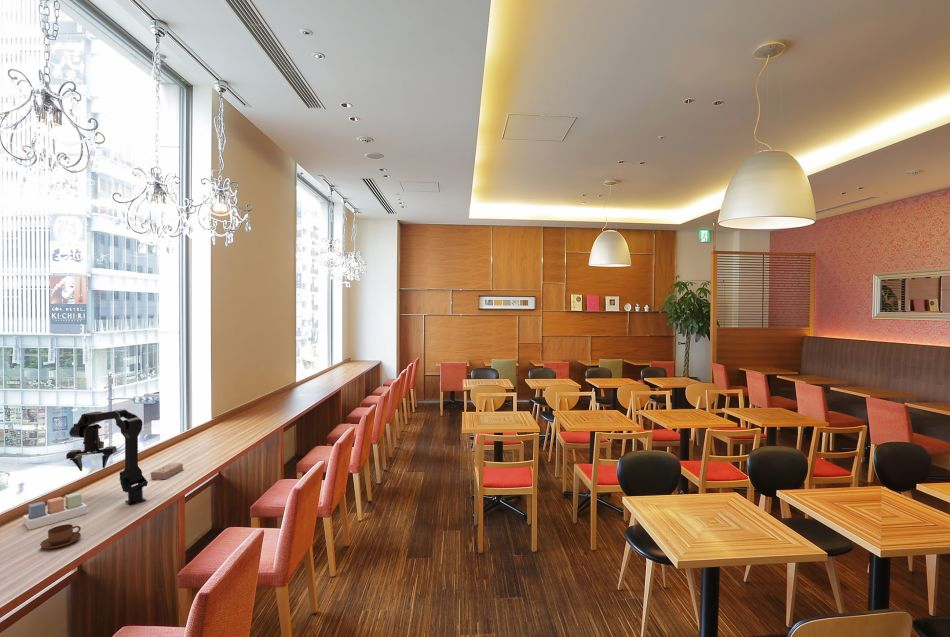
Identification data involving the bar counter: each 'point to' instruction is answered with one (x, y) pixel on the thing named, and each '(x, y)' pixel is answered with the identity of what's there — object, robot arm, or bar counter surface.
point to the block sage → (73, 500)
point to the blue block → (36, 510)
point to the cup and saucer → (61, 536)
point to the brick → (166, 471)
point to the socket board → (54, 517)
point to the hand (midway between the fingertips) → (92, 469)
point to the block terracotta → (55, 505)
